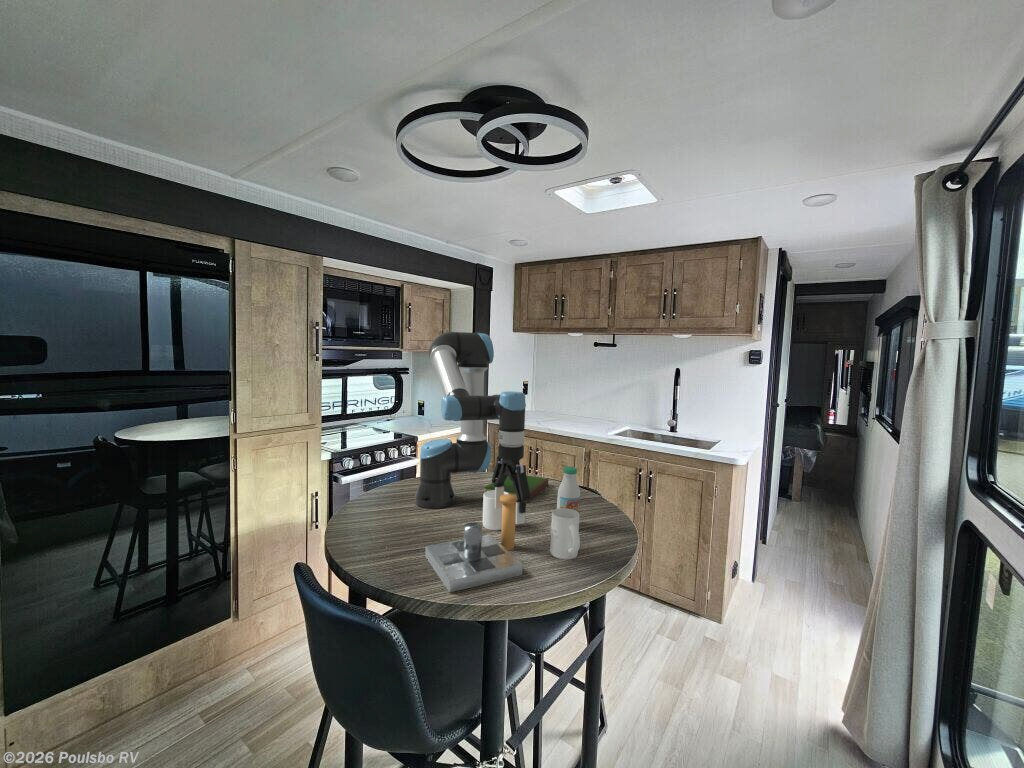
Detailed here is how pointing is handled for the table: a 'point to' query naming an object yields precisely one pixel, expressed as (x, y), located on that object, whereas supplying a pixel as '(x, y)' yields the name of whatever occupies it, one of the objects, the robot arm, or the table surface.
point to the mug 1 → (491, 512)
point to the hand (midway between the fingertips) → (509, 515)
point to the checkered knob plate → (472, 560)
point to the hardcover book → (533, 482)
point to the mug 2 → (565, 533)
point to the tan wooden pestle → (508, 520)
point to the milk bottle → (569, 490)
